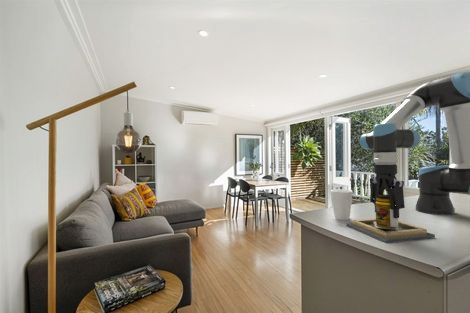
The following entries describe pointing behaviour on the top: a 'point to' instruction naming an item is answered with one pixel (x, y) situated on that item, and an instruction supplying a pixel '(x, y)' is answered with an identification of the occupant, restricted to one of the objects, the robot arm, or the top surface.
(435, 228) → the top surface
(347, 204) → the foam cup
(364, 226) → the wooden rimmed tray
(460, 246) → the top surface
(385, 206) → the condiment
